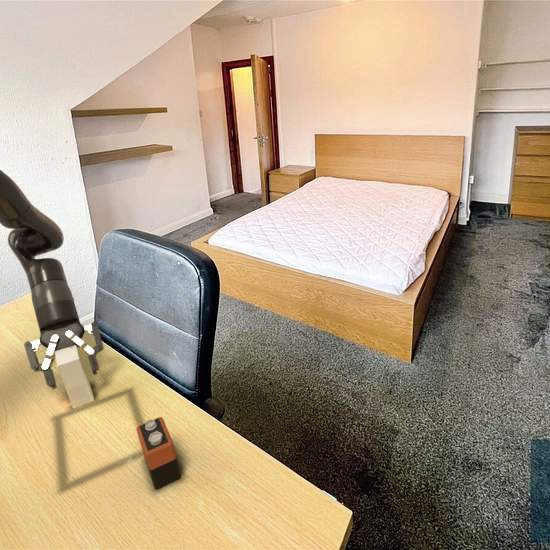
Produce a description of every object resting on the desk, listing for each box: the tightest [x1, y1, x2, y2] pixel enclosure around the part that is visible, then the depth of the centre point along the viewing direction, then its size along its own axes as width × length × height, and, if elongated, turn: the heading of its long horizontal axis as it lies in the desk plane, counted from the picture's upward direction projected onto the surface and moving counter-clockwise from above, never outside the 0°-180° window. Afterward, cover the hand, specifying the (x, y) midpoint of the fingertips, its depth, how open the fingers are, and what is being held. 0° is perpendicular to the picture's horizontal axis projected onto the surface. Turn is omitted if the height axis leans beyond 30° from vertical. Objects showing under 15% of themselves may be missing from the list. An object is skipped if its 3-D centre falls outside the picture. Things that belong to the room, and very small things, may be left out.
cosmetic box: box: [54, 345, 95, 409], centre depth 83 cm, size 6×4×12 cm
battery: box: [136, 416, 182, 491], centre depth 66 cm, size 4×7×10 cm, turn 29°
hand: (75, 380), depth 82 cm, fingers open, 7 cm apart
